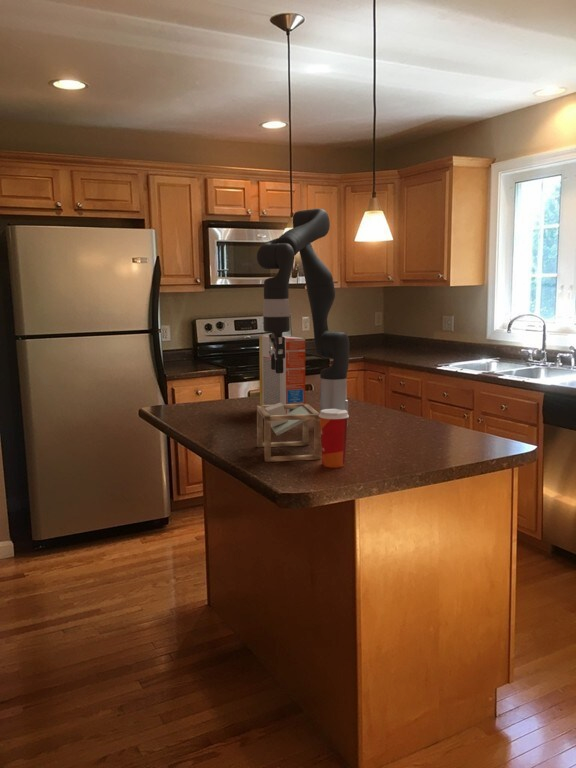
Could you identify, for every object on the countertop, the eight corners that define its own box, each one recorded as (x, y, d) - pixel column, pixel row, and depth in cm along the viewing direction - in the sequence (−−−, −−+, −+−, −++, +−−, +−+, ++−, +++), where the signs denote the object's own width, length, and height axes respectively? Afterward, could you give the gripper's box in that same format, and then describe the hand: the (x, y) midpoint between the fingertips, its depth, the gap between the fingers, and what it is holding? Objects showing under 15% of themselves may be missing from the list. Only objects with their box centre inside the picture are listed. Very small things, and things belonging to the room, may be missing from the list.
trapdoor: (303, 408, 198) (301, 405, 198) (313, 417, 183) (311, 414, 183) (270, 425, 197) (268, 422, 197) (277, 436, 182) (275, 433, 182)
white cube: (285, 418, 192) (280, 402, 191) (288, 421, 187) (283, 405, 186) (269, 423, 192) (264, 408, 191) (272, 427, 187) (266, 411, 186)
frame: (307, 444, 202) (307, 403, 200) (320, 459, 183) (320, 414, 181) (257, 446, 199) (256, 405, 197) (265, 461, 181) (264, 416, 179)
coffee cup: (330, 459, 183) (330, 407, 181) (354, 464, 178) (355, 410, 176) (312, 465, 177) (312, 411, 174) (336, 470, 171) (337, 415, 169)
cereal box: (305, 418, 244) (305, 338, 240) (286, 420, 240) (285, 339, 236) (277, 408, 264) (277, 334, 260) (259, 410, 260) (259, 335, 256)
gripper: (293, 315, 178) (294, 374, 181) (285, 313, 192) (285, 368, 195) (266, 316, 177) (267, 375, 180) (260, 314, 191) (261, 368, 193)
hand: (277, 371), depth 187 cm, fingers open, 8 cm apart
